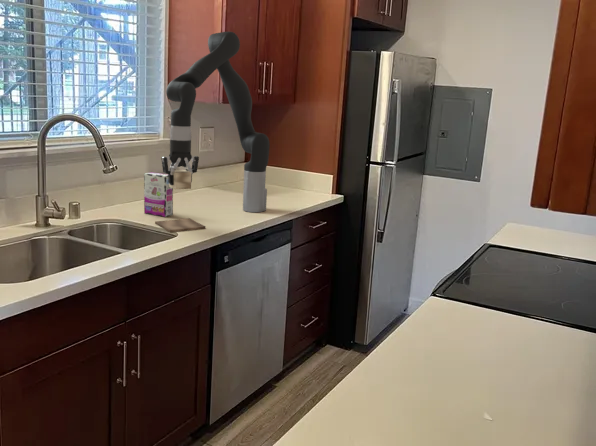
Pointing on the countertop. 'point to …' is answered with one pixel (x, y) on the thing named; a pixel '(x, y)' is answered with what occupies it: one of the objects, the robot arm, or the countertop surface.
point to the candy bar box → (157, 195)
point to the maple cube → (181, 180)
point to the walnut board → (179, 225)
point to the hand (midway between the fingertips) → (180, 184)
